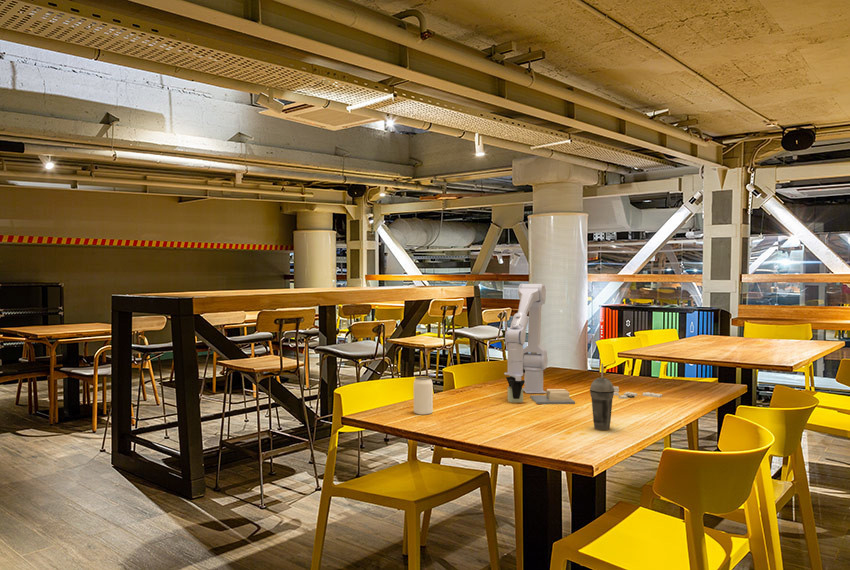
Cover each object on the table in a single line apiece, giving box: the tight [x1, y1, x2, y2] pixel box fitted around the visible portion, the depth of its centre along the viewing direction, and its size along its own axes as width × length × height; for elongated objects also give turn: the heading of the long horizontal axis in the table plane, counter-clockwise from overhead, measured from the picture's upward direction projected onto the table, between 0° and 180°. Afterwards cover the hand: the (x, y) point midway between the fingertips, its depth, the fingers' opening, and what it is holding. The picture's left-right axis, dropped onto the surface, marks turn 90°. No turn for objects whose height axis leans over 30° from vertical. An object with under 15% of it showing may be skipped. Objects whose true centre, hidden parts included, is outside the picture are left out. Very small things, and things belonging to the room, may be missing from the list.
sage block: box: [507, 386, 524, 403], centre depth 235 cm, size 5×5×5 cm
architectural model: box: [613, 385, 663, 400], centre depth 245 cm, size 20×24×2 cm
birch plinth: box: [545, 388, 570, 401], centre depth 236 cm, size 7×7×3 cm
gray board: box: [529, 394, 576, 405], centre depth 236 cm, size 13×14×1 cm
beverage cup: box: [589, 363, 615, 431], centre depth 192 cm, size 7×7×20 cm
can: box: [413, 376, 434, 416], centre depth 214 cm, size 6×6×12 cm
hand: (515, 397), depth 235 cm, fingers closed on sage block, 5 cm apart
